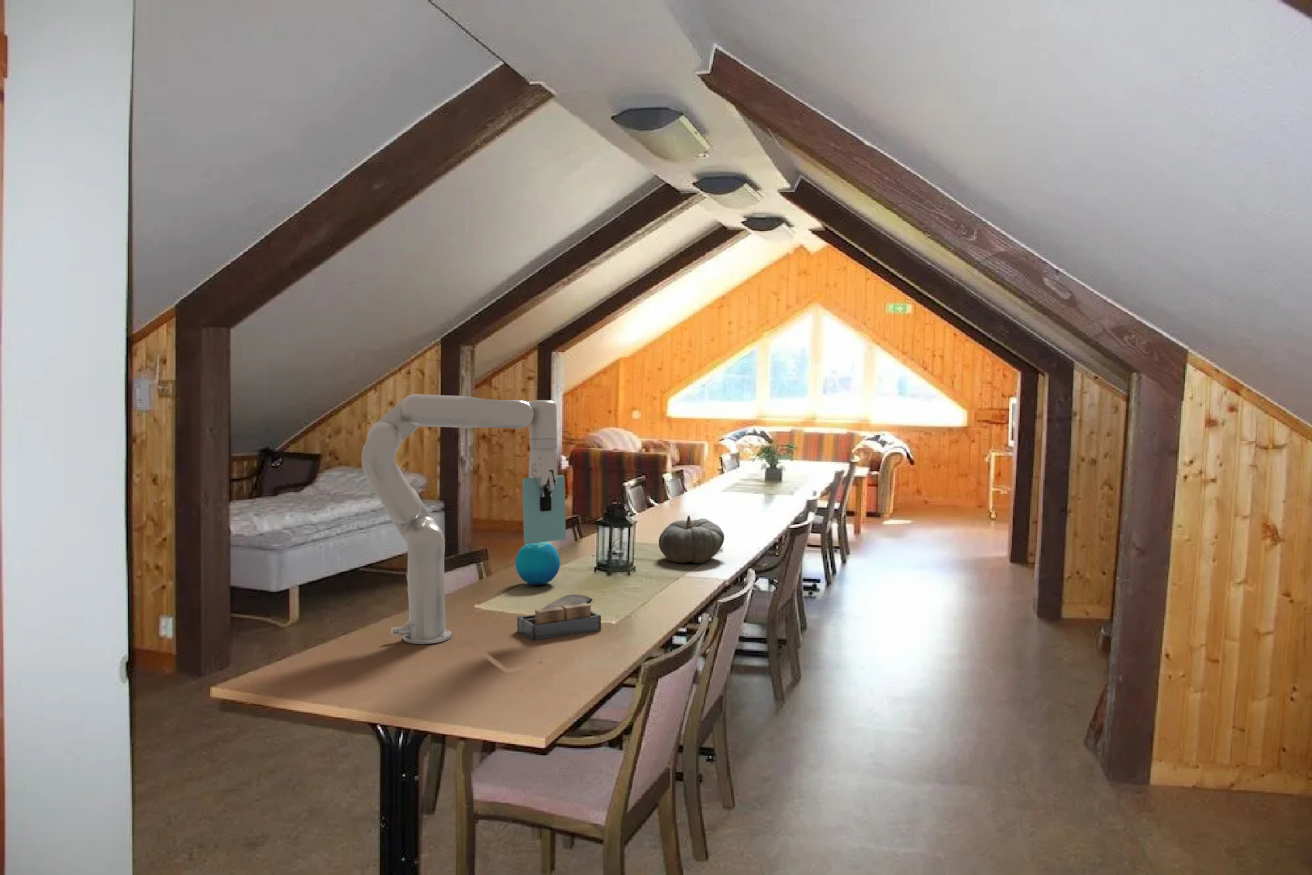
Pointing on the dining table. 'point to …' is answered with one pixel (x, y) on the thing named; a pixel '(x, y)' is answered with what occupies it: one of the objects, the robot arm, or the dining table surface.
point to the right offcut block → (577, 611)
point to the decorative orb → (537, 563)
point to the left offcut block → (549, 615)
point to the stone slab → (569, 601)
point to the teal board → (543, 513)
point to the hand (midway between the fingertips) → (544, 510)
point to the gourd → (691, 540)
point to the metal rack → (557, 627)
